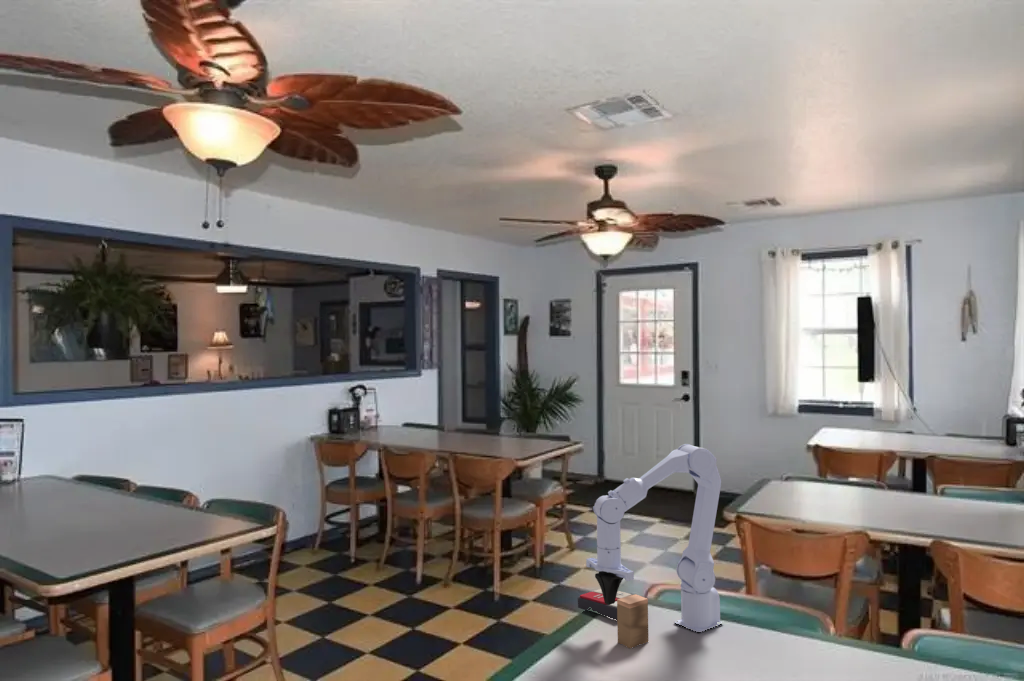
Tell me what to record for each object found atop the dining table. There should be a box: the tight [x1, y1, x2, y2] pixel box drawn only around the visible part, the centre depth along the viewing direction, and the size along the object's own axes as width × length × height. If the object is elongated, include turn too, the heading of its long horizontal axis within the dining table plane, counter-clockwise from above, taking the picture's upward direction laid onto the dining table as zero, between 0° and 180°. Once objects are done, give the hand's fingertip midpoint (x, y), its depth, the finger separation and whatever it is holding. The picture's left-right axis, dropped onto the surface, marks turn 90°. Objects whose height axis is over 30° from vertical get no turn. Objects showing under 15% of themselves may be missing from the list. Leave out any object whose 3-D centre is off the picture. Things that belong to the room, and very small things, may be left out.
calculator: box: [577, 588, 633, 620], centre depth 183 cm, size 11×4×15 cm
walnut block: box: [616, 593, 649, 649], centre depth 161 cm, size 6×4×10 cm, turn 126°
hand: (609, 603), depth 167 cm, fingers closed
